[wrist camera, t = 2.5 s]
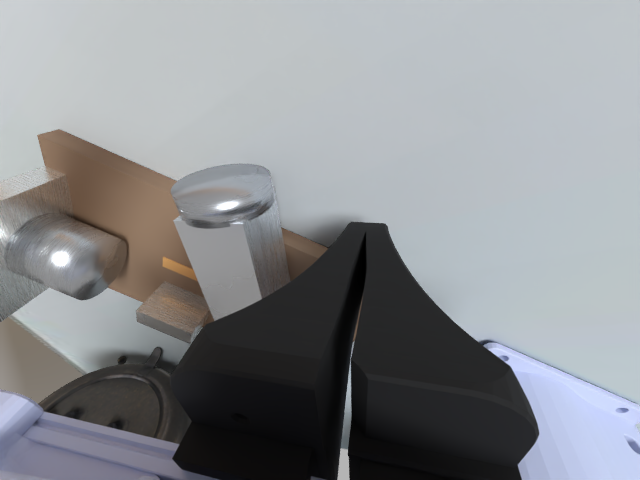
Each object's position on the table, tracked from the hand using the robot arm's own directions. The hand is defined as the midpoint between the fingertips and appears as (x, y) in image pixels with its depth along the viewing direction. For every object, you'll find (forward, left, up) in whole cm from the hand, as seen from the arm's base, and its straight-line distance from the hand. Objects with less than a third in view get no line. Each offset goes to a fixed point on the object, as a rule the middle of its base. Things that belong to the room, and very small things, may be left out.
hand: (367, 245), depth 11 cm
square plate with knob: (+10, +7, -1) cm, 12 cm away
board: (+6, +7, -2) cm, 9 cm away
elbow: (+3, +4, -1) cm, 5 cm away
